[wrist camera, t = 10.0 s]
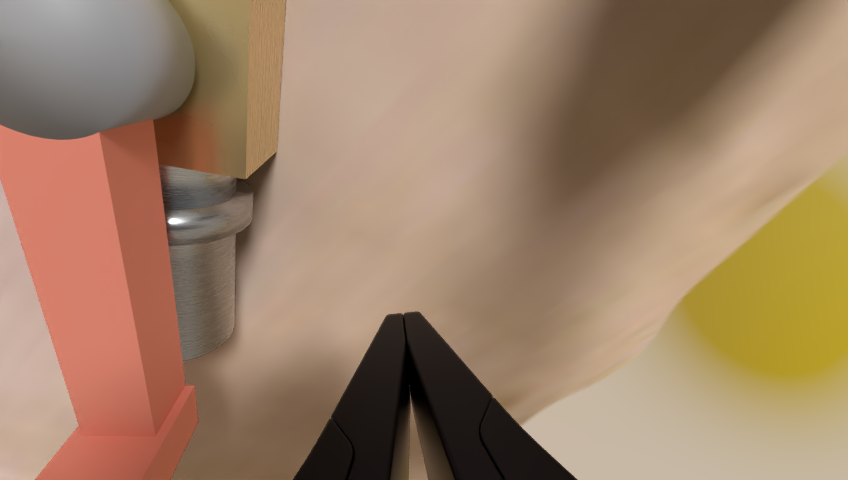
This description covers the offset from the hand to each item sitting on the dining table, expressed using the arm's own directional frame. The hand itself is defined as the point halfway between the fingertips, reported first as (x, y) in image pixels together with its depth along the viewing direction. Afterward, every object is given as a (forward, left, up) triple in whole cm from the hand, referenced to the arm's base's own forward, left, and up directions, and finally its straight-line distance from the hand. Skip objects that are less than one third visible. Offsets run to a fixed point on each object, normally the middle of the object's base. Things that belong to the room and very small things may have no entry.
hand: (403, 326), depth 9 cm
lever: (+8, +1, -4) cm, 9 cm away
